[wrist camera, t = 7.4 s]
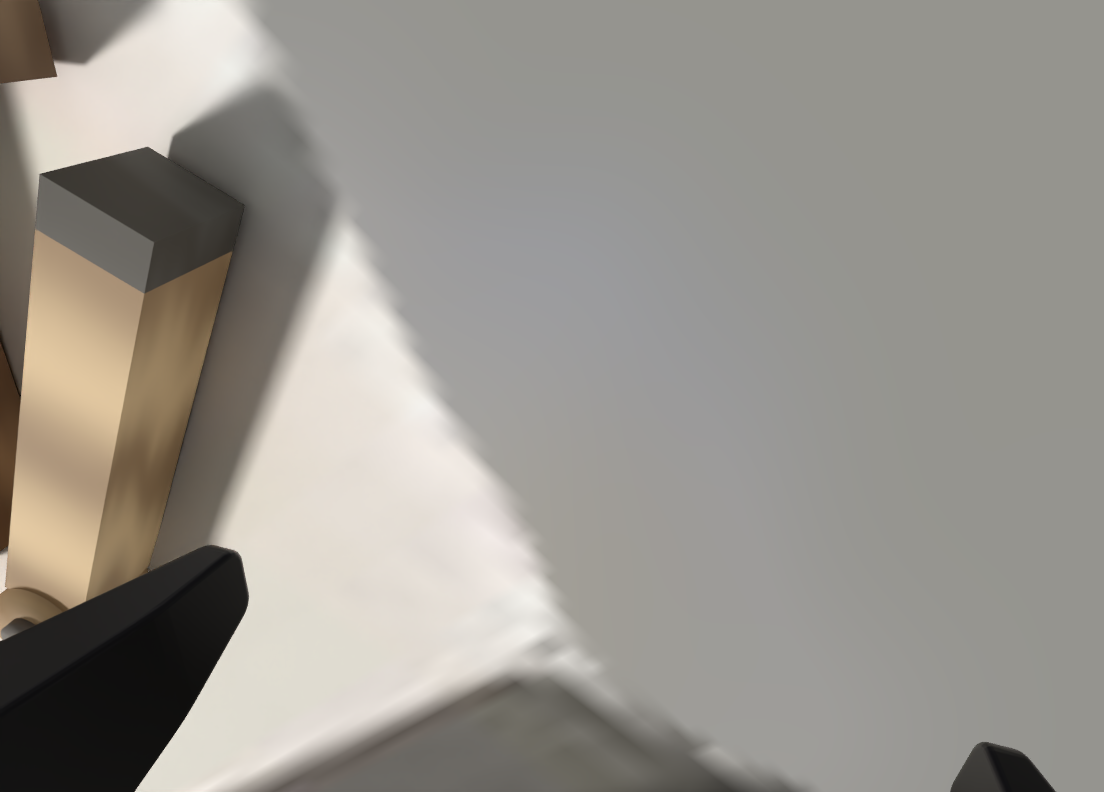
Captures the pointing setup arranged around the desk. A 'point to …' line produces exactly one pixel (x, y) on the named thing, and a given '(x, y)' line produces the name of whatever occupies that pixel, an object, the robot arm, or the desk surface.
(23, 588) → the hinged leg
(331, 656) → the desk surface
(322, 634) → the desk surface
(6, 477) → the tan rectangular beam
